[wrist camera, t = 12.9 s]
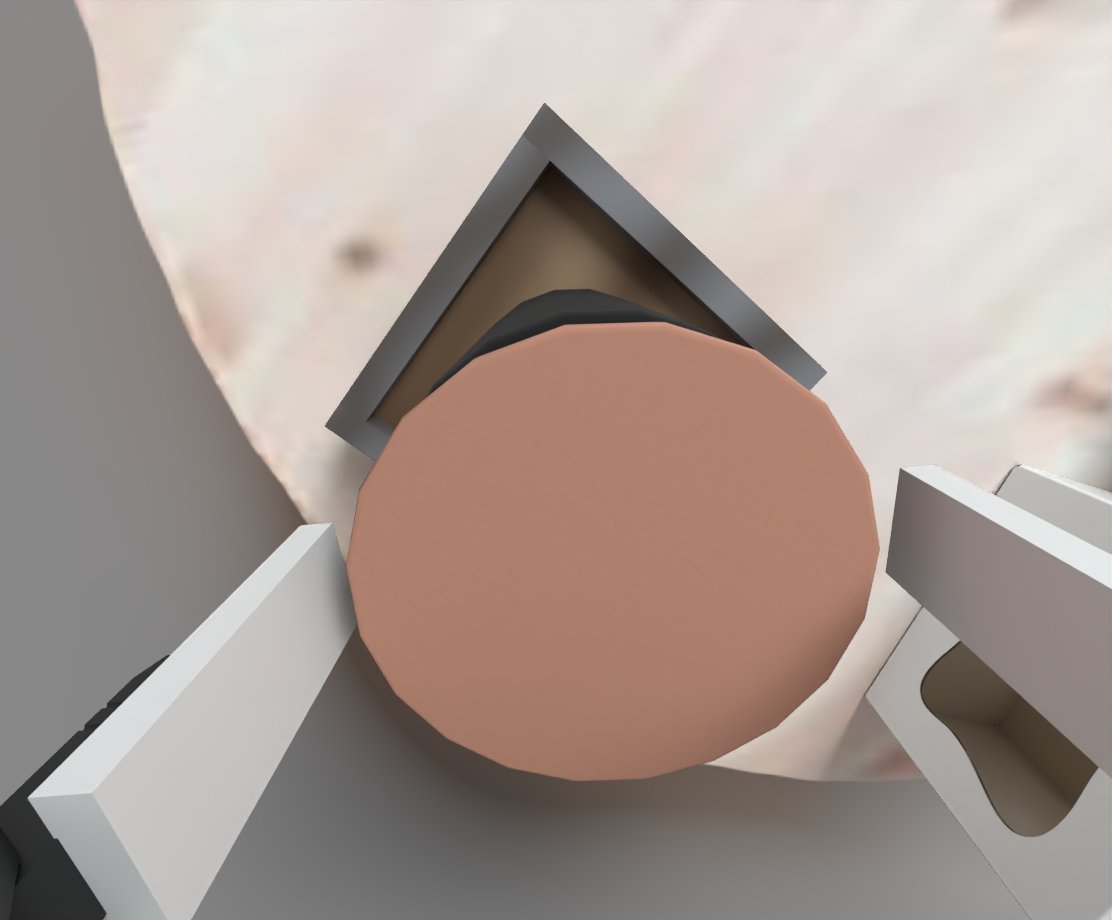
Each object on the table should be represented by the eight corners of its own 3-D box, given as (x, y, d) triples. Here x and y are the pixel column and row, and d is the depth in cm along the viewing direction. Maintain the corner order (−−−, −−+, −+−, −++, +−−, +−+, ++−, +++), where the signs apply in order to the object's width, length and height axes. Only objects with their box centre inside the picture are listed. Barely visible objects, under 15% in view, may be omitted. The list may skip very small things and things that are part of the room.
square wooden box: (766, 350, 32) (827, 372, 25) (584, 545, 37) (593, 609, 30) (545, 144, 28) (544, 102, 21) (372, 393, 33) (324, 426, 26)
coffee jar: (651, 495, 29) (793, 802, 12) (465, 474, 29) (346, 766, 12) (692, 302, 26) (974, 363, 9) (479, 273, 25) (337, 278, 8)
